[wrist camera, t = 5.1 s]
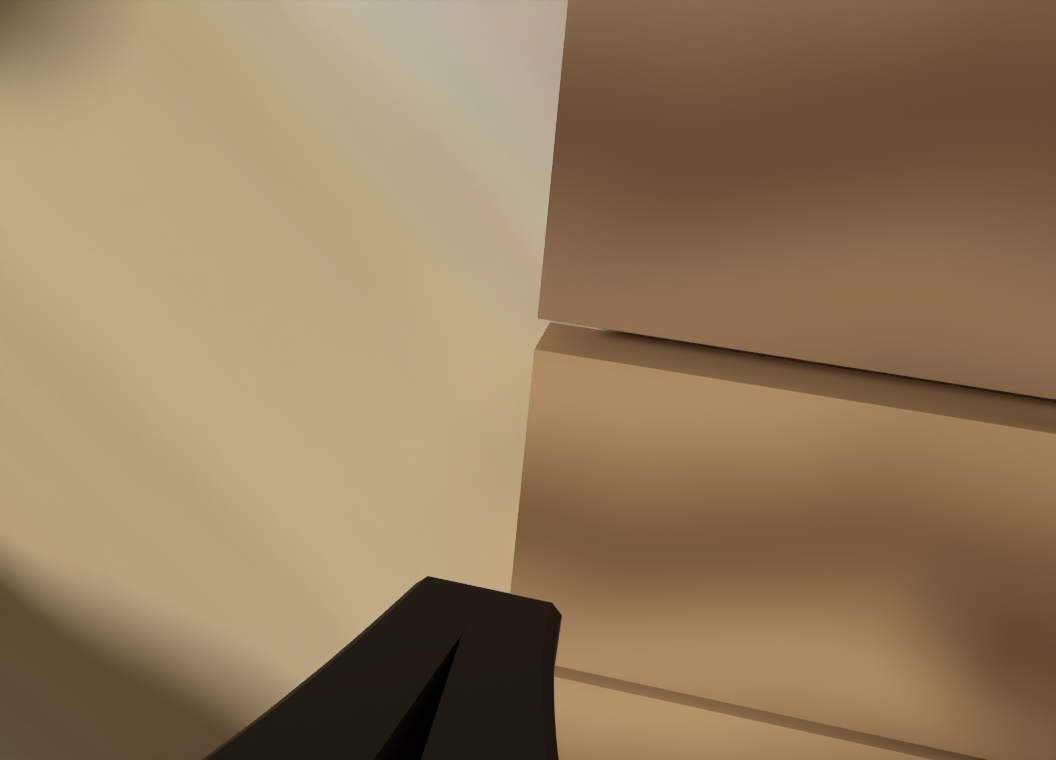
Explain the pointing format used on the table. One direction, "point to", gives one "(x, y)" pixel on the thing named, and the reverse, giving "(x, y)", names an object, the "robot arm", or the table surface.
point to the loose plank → (813, 182)
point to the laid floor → (786, 557)
